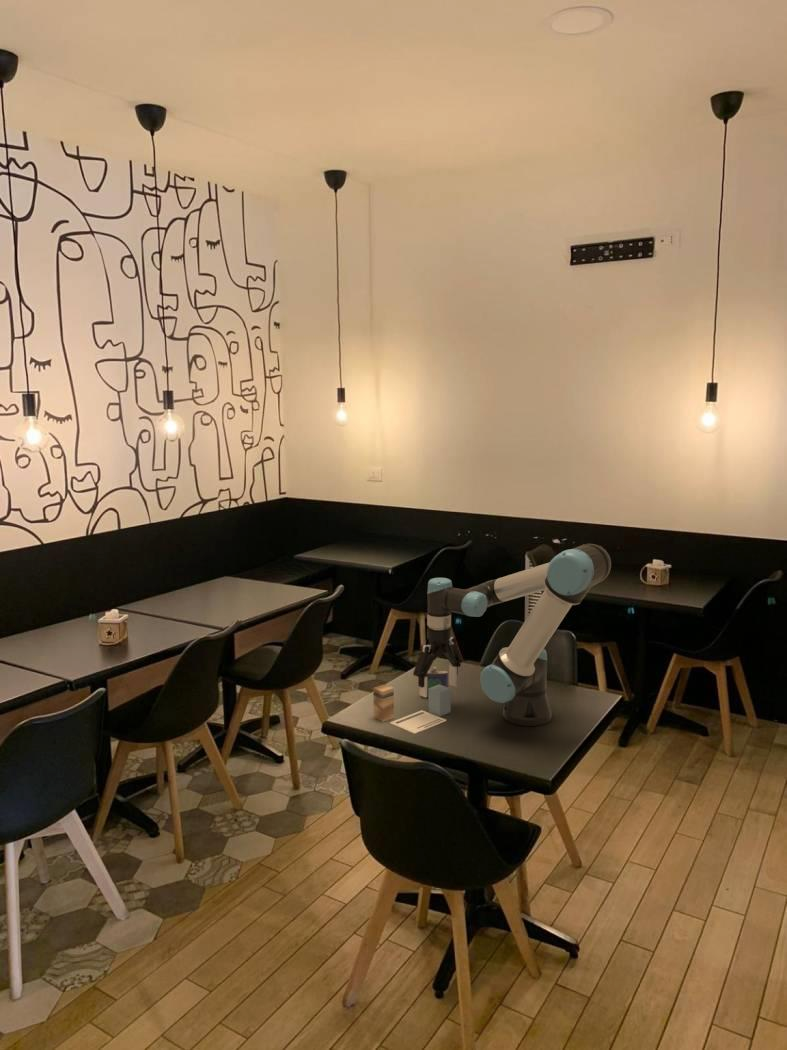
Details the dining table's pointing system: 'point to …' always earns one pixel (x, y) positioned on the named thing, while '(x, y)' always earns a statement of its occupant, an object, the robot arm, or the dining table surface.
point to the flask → (436, 678)
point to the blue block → (439, 700)
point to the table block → (383, 703)
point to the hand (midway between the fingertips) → (438, 690)
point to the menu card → (418, 722)
